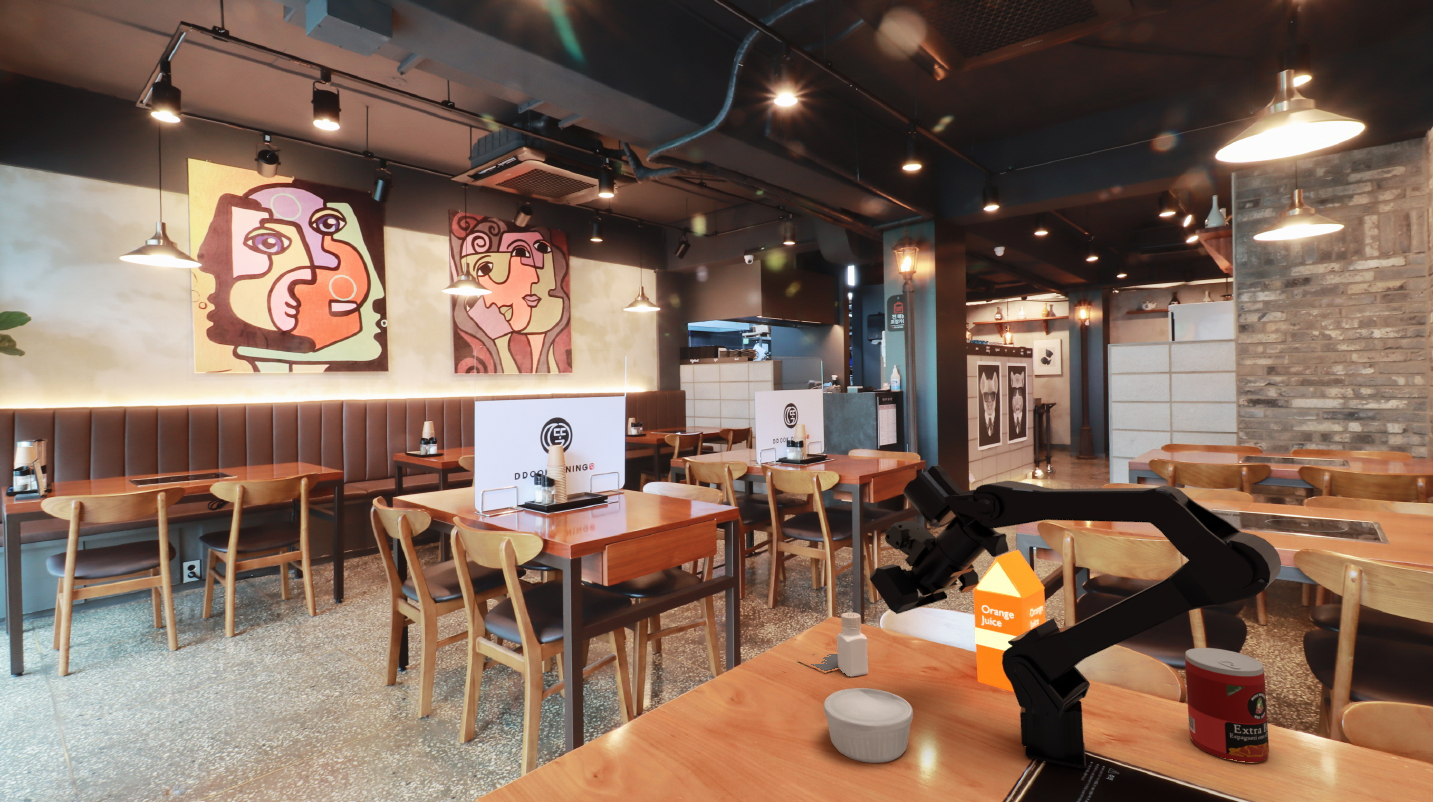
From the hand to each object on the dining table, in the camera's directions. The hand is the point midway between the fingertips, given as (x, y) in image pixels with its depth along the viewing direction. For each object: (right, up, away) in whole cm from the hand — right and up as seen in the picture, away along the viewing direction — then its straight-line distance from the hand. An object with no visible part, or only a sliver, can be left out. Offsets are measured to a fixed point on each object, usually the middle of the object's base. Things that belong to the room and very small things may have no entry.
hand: (895, 610), depth 99 cm
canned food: (+36, -11, -19) cm, 42 cm away
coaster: (-8, -13, +13) cm, 20 cm away
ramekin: (-8, -13, -16) cm, 22 cm away
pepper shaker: (-5, -13, +8) cm, 16 cm away
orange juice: (+20, -12, +3) cm, 23 cm away
